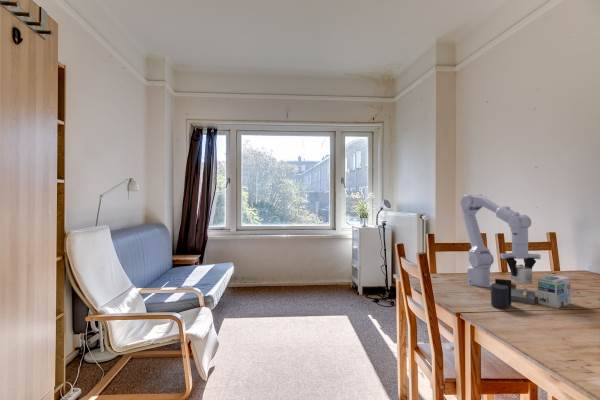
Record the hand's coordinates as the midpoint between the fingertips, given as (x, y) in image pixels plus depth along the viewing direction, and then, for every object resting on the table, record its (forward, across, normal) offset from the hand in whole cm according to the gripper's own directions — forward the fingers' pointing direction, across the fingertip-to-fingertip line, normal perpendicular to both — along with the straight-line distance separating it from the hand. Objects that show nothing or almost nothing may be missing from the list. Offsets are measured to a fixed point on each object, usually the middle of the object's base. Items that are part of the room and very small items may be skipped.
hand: (520, 275), depth 136 cm
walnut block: (+8, 0, +9) cm, 12 cm away
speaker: (+9, -13, -15) cm, 22 cm away
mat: (+9, +4, +6) cm, 12 cm away
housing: (+2, 0, 0) cm, 2 cm away
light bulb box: (+9, +8, -9) cm, 15 cm away
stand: (+9, -4, -3) cm, 10 cm away
